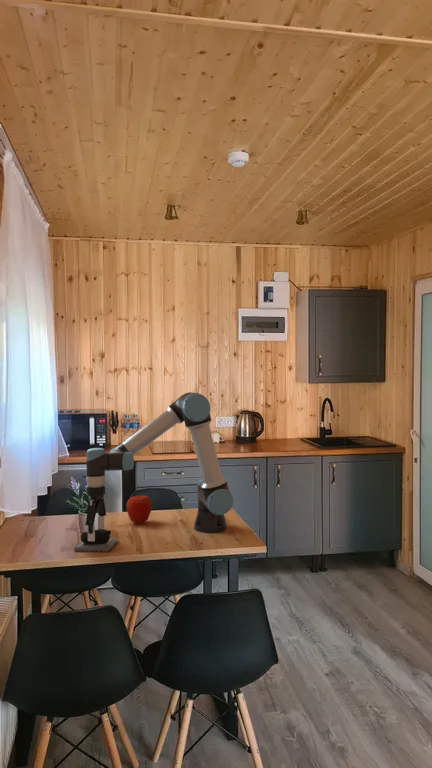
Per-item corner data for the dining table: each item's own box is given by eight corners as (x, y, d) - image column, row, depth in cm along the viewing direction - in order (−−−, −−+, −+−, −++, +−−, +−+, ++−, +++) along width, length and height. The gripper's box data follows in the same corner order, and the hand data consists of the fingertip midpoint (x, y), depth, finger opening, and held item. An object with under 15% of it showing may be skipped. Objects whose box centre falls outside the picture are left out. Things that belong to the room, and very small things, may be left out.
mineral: (92, 548, 226) (92, 533, 226) (78, 543, 232) (78, 529, 232) (112, 542, 234) (112, 528, 234) (98, 538, 240) (97, 524, 240)
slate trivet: (117, 541, 240) (117, 537, 240) (108, 551, 226) (108, 547, 226) (85, 540, 241) (85, 536, 241) (74, 551, 227) (74, 547, 227)
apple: (145, 518, 277) (145, 490, 277) (156, 524, 267) (156, 494, 267) (122, 522, 271) (122, 493, 270) (132, 528, 260) (131, 498, 260)
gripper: (96, 479, 246) (96, 527, 246) (77, 491, 221) (77, 545, 222) (112, 479, 245) (113, 527, 246) (95, 492, 220) (96, 545, 221)
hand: (96, 536), depth 234 cm, fingers open, 13 cm apart
